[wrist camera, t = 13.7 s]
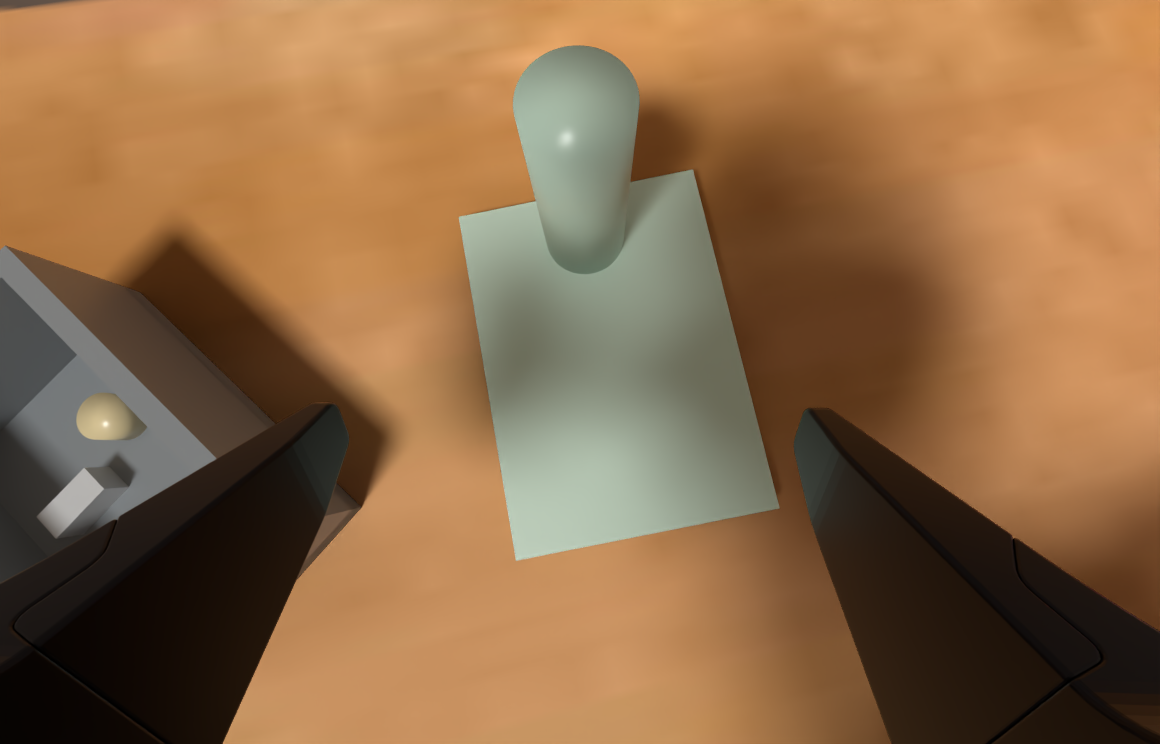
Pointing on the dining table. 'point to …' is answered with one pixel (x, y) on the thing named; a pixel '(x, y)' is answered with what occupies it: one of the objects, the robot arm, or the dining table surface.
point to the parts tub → (104, 410)
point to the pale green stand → (607, 330)
